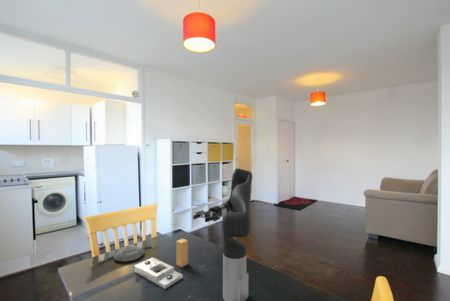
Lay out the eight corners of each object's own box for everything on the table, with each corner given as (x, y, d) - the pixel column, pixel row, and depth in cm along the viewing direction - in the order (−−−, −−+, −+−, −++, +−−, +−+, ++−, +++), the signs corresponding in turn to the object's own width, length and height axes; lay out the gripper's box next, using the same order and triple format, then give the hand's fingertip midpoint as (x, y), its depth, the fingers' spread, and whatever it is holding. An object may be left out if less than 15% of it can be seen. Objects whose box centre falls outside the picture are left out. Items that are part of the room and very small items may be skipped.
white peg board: (182, 277, 102) (182, 270, 102) (164, 289, 94) (164, 280, 94) (152, 263, 115) (152, 256, 115) (134, 271, 107) (134, 264, 107)
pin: (187, 264, 114) (187, 240, 114) (181, 267, 111) (181, 243, 111) (182, 261, 116) (182, 238, 116) (176, 264, 113) (176, 241, 113)
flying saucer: (150, 253, 125) (150, 244, 125) (128, 266, 112) (128, 255, 112) (130, 248, 132) (130, 239, 132) (107, 260, 118) (107, 249, 118)
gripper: (208, 203, 141) (190, 209, 128) (227, 207, 133) (209, 214, 120) (208, 215, 141) (190, 223, 128) (227, 220, 133) (209, 228, 120)
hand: (199, 218), depth 124 cm, fingers open, 8 cm apart
